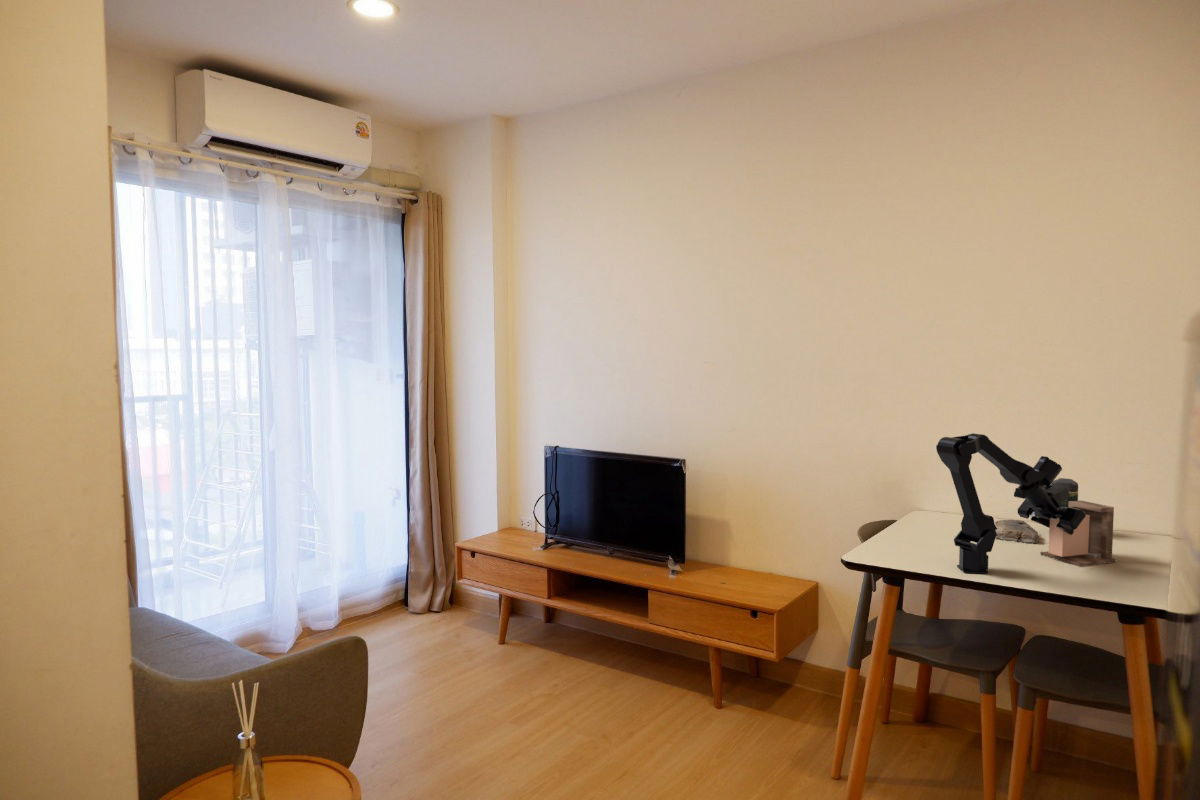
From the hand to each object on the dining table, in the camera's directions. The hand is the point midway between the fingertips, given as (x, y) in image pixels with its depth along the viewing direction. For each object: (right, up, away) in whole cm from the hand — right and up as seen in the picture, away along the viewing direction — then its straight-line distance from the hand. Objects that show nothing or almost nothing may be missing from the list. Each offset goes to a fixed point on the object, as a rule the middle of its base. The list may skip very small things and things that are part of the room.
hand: (1064, 531), depth 221 cm
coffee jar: (+20, -7, +33) cm, 39 cm away
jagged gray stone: (+2, -7, +30) cm, 31 cm away
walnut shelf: (+5, -8, +2) cm, 10 cm away
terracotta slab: (+2, -7, +1) cm, 7 cm away
